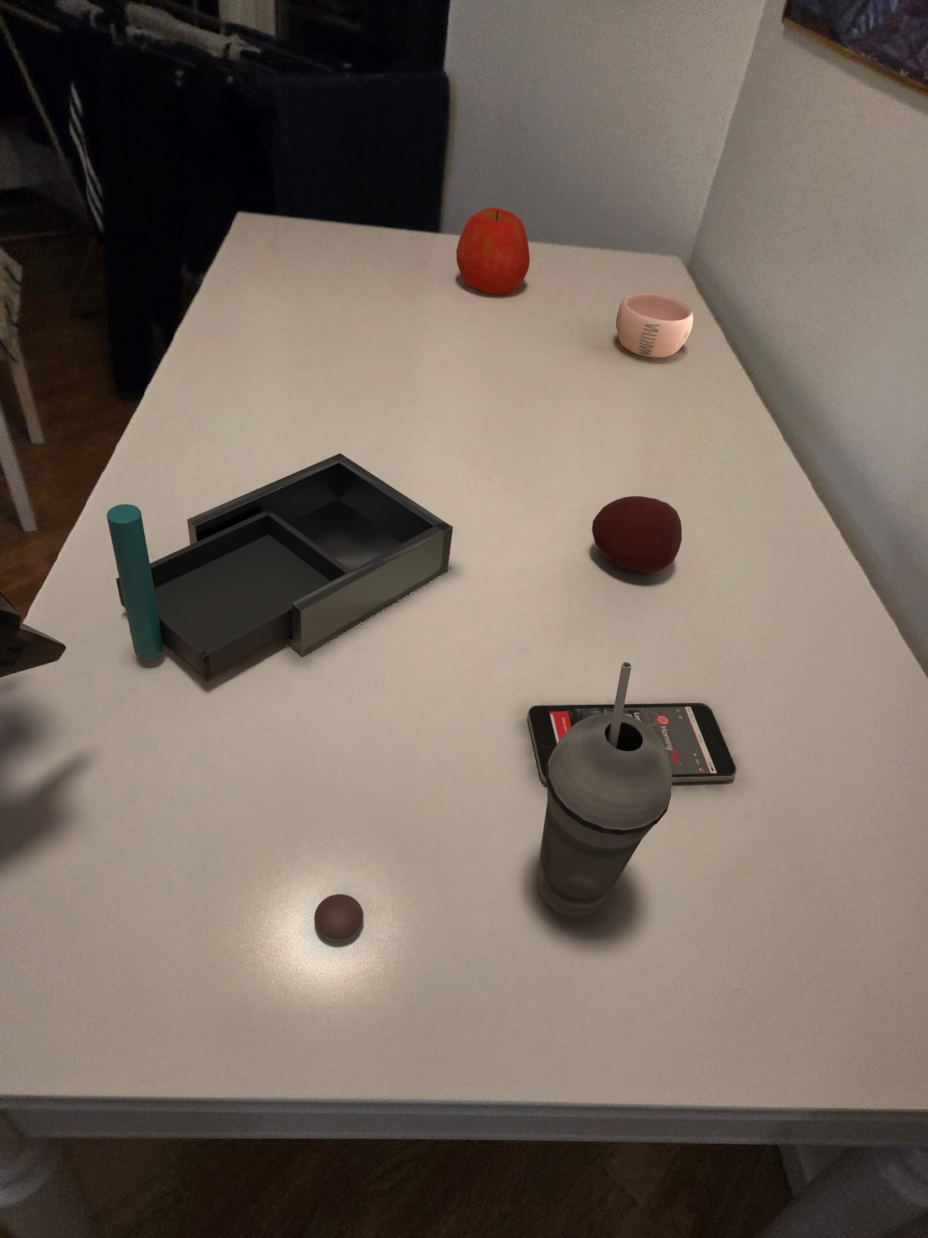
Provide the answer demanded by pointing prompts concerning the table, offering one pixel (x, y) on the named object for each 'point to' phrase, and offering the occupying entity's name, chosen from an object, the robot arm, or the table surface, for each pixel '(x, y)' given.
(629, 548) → the potato
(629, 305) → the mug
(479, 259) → the apple
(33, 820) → the table surface
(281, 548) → the black compartment tray
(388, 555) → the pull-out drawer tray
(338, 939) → the chocolate truffle
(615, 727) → the beverage cup
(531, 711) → the smartphone
